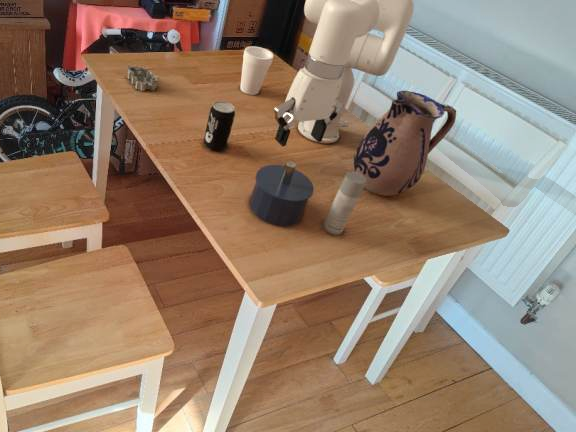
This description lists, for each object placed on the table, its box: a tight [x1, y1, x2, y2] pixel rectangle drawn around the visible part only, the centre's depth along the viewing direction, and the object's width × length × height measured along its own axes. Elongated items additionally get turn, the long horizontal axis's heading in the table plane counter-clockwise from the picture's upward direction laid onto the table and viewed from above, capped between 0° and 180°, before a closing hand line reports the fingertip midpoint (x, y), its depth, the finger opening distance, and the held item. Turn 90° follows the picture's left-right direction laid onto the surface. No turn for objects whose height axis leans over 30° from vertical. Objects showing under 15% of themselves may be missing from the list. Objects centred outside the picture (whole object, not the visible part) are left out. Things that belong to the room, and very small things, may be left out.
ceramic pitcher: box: [352, 90, 457, 197], centre depth 131 cm, size 18×21×25 cm
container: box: [322, 170, 366, 236], centre depth 116 cm, size 5×5×15 cm
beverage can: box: [203, 100, 236, 152], centre depth 136 cm, size 7×7×12 cm
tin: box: [249, 181, 309, 227], centre depth 121 cm, size 13×13×8 cm
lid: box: [255, 160, 315, 202], centre depth 117 cm, size 14×14×6 cm
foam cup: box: [239, 45, 274, 96], centre depth 166 cm, size 10×9×13 cm
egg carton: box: [127, 65, 160, 92], centre depth 160 cm, size 11×8×4 cm
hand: (298, 140), depth 111 cm, fingers open, 9 cm apart
